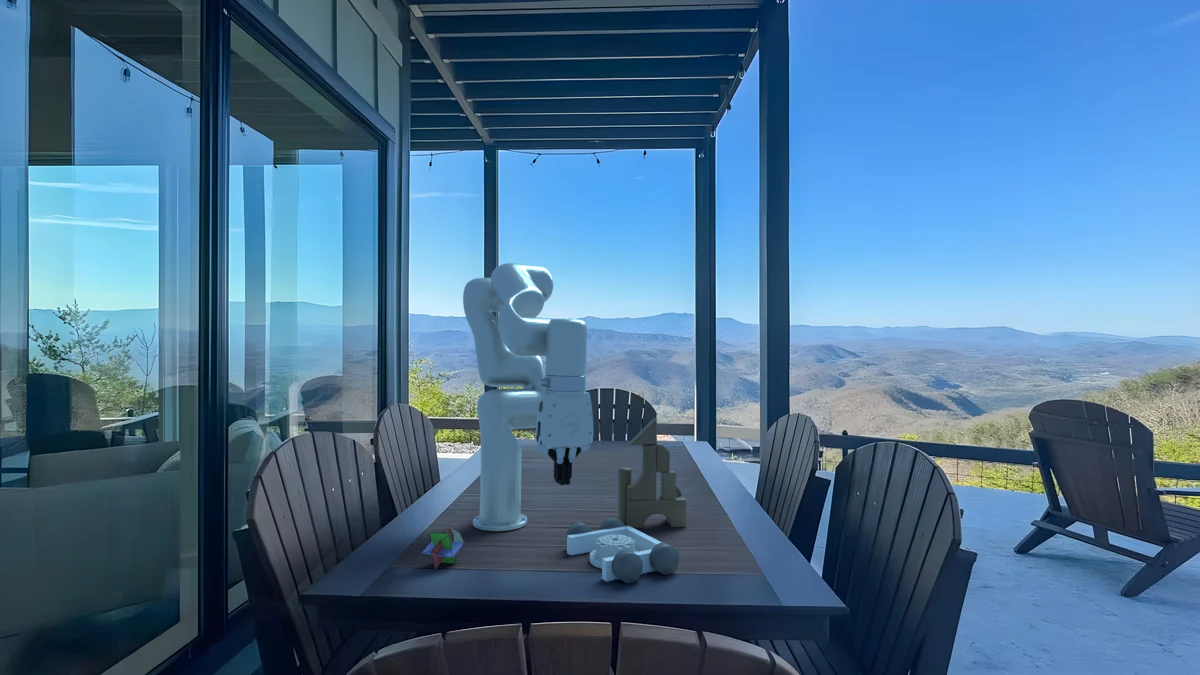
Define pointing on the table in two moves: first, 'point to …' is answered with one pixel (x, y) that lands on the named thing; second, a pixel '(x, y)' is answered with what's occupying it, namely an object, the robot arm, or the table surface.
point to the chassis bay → (624, 551)
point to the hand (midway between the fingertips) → (562, 483)
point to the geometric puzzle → (443, 547)
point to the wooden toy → (650, 485)
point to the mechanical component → (610, 547)
